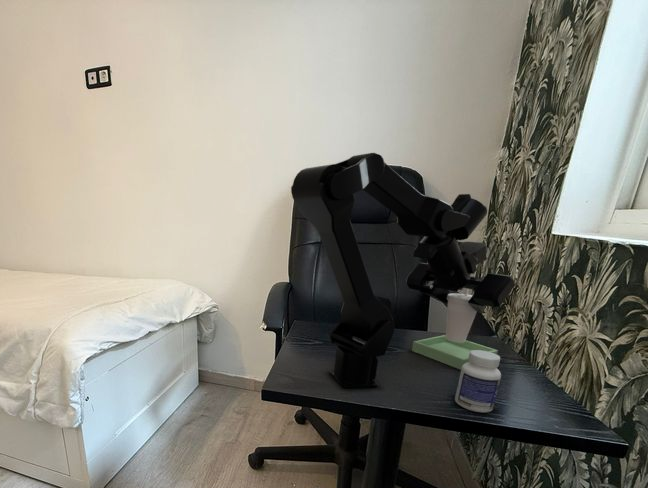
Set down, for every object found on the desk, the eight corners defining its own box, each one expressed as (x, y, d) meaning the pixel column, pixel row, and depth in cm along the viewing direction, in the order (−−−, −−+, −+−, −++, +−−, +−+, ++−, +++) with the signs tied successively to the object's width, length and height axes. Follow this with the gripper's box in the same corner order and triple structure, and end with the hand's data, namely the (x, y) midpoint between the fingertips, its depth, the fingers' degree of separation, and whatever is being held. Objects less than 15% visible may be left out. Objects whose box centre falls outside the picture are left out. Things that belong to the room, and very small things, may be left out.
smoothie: (478, 341, 77) (493, 277, 73) (464, 346, 73) (479, 279, 69) (447, 333, 82) (460, 272, 78) (432, 337, 78) (445, 274, 75)
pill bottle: (499, 415, 55) (513, 362, 53) (462, 411, 56) (474, 359, 54) (483, 398, 60) (495, 350, 58) (449, 395, 61) (459, 347, 59)
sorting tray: (461, 370, 71) (463, 359, 71) (411, 350, 81) (413, 341, 80) (495, 360, 77) (498, 350, 76) (445, 343, 86) (447, 334, 86)
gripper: (523, 230, 61) (538, 289, 69) (424, 225, 77) (445, 273, 85) (486, 277, 60) (506, 332, 68) (393, 262, 76) (418, 308, 84)
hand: (466, 308), depth 76 cm, fingers closed on smoothie, 6 cm apart
